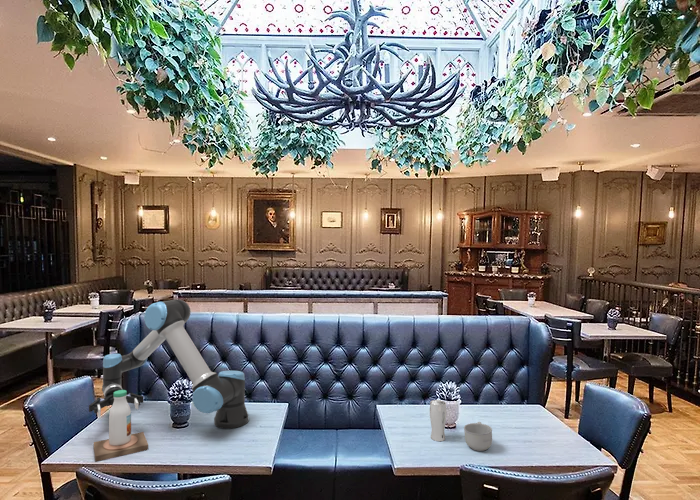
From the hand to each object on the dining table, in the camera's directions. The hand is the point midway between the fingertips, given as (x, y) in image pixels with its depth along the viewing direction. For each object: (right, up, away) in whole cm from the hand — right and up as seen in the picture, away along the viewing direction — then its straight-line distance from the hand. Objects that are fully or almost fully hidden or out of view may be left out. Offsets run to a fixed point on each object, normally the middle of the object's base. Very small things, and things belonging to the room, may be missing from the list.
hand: (118, 409), depth 173 cm
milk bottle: (+3, -11, -4) cm, 12 cm away
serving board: (+3, -14, -4) cm, 15 cm away
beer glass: (+131, -15, +6) cm, 132 cm away
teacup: (+146, -15, -1) cm, 147 cm away
